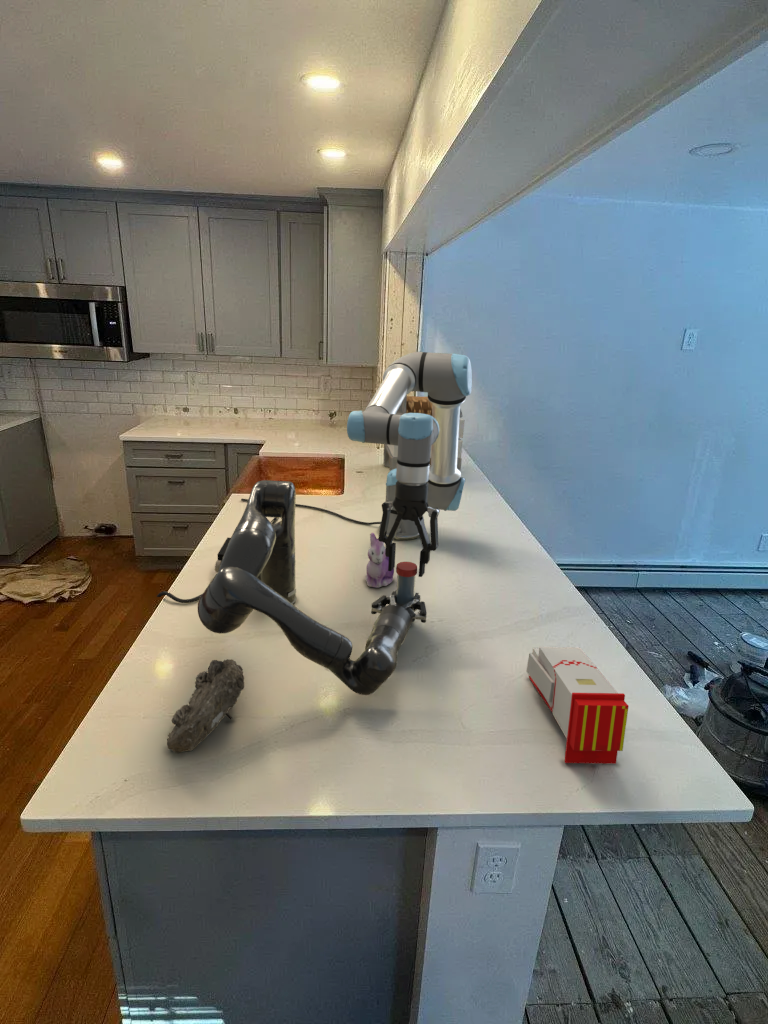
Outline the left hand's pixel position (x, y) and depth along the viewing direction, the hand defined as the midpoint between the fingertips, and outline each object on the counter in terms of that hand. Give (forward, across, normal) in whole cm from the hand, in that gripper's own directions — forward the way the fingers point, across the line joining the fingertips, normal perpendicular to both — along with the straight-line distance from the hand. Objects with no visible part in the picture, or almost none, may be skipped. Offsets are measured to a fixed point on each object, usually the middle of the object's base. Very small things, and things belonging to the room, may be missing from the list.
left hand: (407, 594), depth 144 cm
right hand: (-3, 0, +8) cm, 8 cm away
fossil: (-48, -27, -7) cm, 56 cm away
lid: (-3, 0, +9) cm, 9 cm away
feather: (+58, -62, -7) cm, 85 cm away
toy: (-26, +39, -7) cm, 47 cm away
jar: (-3, 0, -7) cm, 7 cm away
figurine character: (+10, -55, -7) cm, 56 cm away
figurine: (+17, -12, -7) cm, 22 cm away
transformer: (+135, -24, -7) cm, 138 cm away
